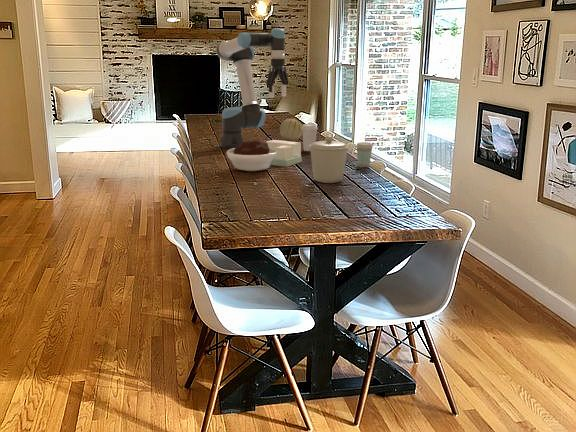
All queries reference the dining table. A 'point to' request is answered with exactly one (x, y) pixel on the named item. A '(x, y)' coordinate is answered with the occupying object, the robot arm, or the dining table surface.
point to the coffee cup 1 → (308, 135)
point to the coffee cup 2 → (364, 154)
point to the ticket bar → (296, 145)
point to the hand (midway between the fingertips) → (277, 97)
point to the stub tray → (287, 161)
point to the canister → (328, 160)
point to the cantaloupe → (291, 130)
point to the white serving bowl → (252, 156)
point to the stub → (284, 152)
